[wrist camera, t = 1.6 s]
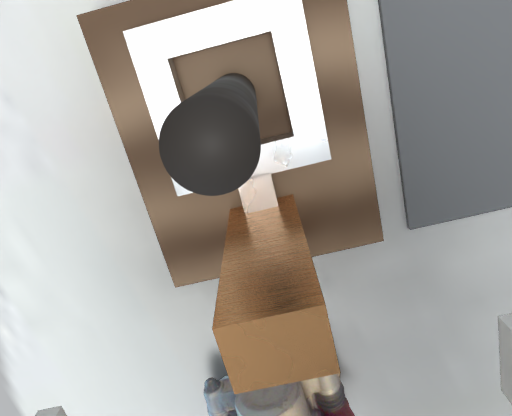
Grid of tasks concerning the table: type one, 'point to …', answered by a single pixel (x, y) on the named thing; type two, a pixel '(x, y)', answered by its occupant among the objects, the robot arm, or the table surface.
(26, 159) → the table surface
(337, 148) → the wooden peg stand
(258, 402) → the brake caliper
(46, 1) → the table surface
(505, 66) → the rubber mat
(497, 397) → the table surface
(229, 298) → the square frame with handle
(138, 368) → the table surface
